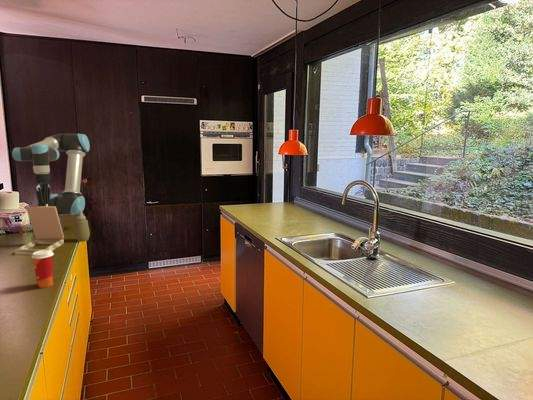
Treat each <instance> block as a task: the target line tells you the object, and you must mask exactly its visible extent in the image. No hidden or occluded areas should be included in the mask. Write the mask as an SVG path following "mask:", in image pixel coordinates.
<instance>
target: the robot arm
mask: <svg viewBox="0 0 533 400" xmlns="http://www.w3.org/2000/svg"><path fill="white" fill-rule="evenodd" d="M90 145H91V144H90V141H89V138H88V136H87V135H86V134H83V133H58V134H54V135H50V136H47V137H45V138H44V139H43V140H41V141H38V142H35V143H32V144H29V145H27V146H24V147H14V148H13V149H12V152H11V155H12V158H13V160H14V161H17V162H32V170H33V173H34V174H33V180H34V181H36V182H37V183H36V186H35V187H34V191H35V194H36V205H37V206H56V209H57V213H58V216H59V220H60V224H61V228H62V231H64V229H65V228H64V224H63V221H62V219H61V217H60V215H62V216H63V215H73V216H74V215H79V210H82V212H83V211H84V210H85V206H86V199H85V197H84V196H83V193H82V192H81V183H82V172H83V171H82V170H83V158H84V157H85V156H86V153H88V152H89V151H90V147H91V146H90ZM60 152H65V153H66V155H67V162H66V163H67V164H66V174H65V176H66V177H65V183H64V184H65V185H64V186H65V187H64V190H63V191H62V192H61V196H59V194H58V193H51V189H52V185H51V184H49V181H51V169H50V162H54V161H57V160H59V158H60Z"/></svg>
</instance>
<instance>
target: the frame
mask: <svg viewBox="0 0 533 400" xmlns="http://www.w3.org/2000/svg"><path fill="white" fill-rule="evenodd" d="M64 239H65V238H63V239H36V238H35V239H34V240H32V241H30V242H28V243H26V244H24V245H22V246H20V247H18V248H16V249H14V255H15V256H23V255H24V256H27V255H28V256H29V255H30V256H32V255H33V253H34V252H36V251H41V250H44V251H45V250H48V251H49V250H51V251H52V252H53V251H54V250H56V249H58V248H59V247H61V246H62V245H64V244H65V242H64ZM36 245H49V246H48V247H46V248H44V249H43V248H42V249H37V248H36V249H31V248H33V247H34V246H36Z"/></svg>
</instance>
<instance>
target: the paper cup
mask: <svg viewBox="0 0 533 400" xmlns="http://www.w3.org/2000/svg"><path fill="white" fill-rule="evenodd" d="M54 255H55V253H54V252H53V250H52V251H51V250H49V251H48V250H45V251H44V250H41V251H36V252H34V253H33V255H31V259H32V262H33V263H32V264H33V269H34V273H35V275H34V276H35V279H36V285H37V288H39V289H46V288H50V287H51V286H53V285H54Z"/></svg>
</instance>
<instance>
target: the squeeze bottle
mask: <svg viewBox="0 0 533 400" xmlns="http://www.w3.org/2000/svg"><path fill="white" fill-rule="evenodd" d="M90 234H91V232H90V227H89V221H88V219H87V217H86V215H84V213H83V211H82V210H79V214H78V215H77V216H76V220H75V221H74V237H75V239H76V242H79V243H83V242H88V241H89V238H90Z"/></svg>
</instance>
